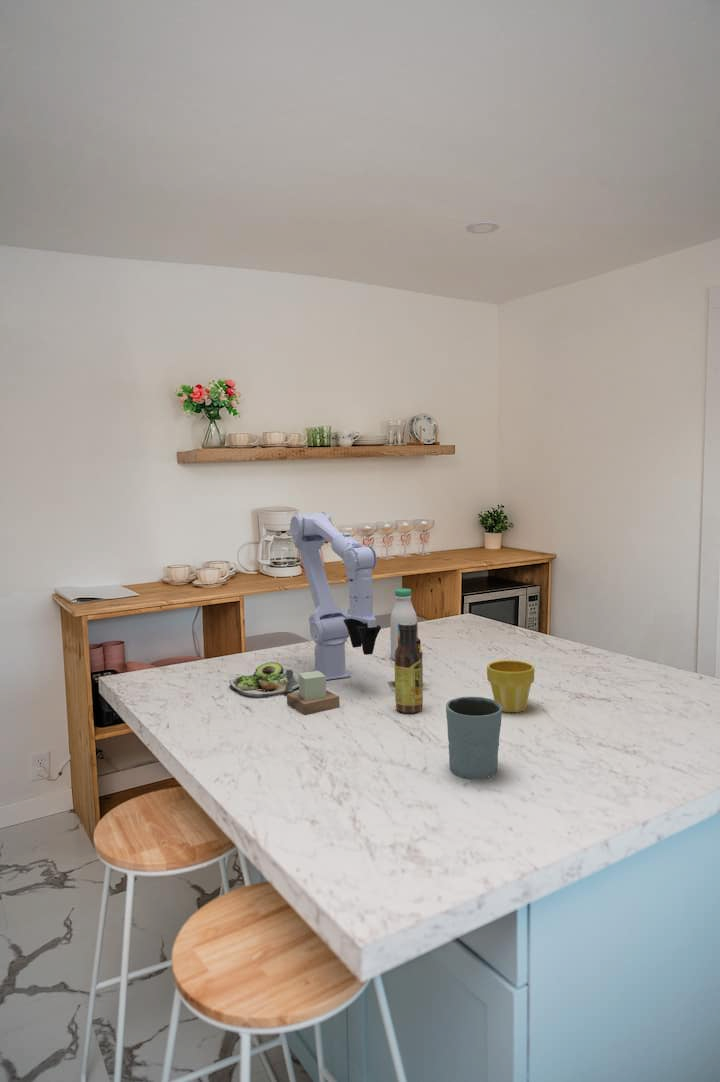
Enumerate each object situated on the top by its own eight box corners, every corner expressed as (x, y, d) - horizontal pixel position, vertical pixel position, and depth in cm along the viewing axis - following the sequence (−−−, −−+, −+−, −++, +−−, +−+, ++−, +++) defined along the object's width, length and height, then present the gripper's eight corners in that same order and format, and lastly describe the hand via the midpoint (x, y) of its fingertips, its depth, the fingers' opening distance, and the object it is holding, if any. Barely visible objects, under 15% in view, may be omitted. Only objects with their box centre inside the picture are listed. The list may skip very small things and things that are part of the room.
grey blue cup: (465, 753, 139) (464, 692, 138) (512, 766, 133) (512, 703, 131) (435, 771, 131) (434, 707, 130) (485, 786, 125) (484, 719, 123)
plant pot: (496, 697, 171) (496, 657, 170) (540, 704, 165) (540, 662, 164) (480, 711, 162) (480, 668, 161) (525, 718, 157) (525, 674, 156)
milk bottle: (388, 661, 204) (386, 591, 202) (394, 654, 212) (393, 586, 209) (414, 663, 202) (413, 592, 200) (420, 655, 209) (419, 587, 207)
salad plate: (319, 691, 180) (319, 673, 179) (252, 706, 171) (251, 687, 170) (286, 673, 196) (285, 657, 196) (223, 685, 187) (222, 668, 187)
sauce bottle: (421, 715, 161) (419, 627, 158) (393, 713, 162) (391, 626, 160) (424, 705, 167) (423, 620, 165) (397, 704, 168) (395, 620, 166)
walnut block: (287, 706, 170) (286, 694, 170) (320, 699, 175) (320, 687, 175) (305, 717, 163) (304, 704, 162) (339, 709, 167) (339, 696, 167)
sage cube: (299, 694, 170) (298, 673, 169) (319, 691, 171) (318, 670, 171) (305, 700, 165) (304, 679, 164) (326, 697, 167) (325, 676, 166)
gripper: (335, 592, 182) (337, 645, 184) (356, 602, 169) (358, 659, 170) (361, 590, 185) (363, 642, 186) (384, 599, 171) (385, 655, 173)
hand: (362, 650), depth 179 cm, fingers open, 7 cm apart
